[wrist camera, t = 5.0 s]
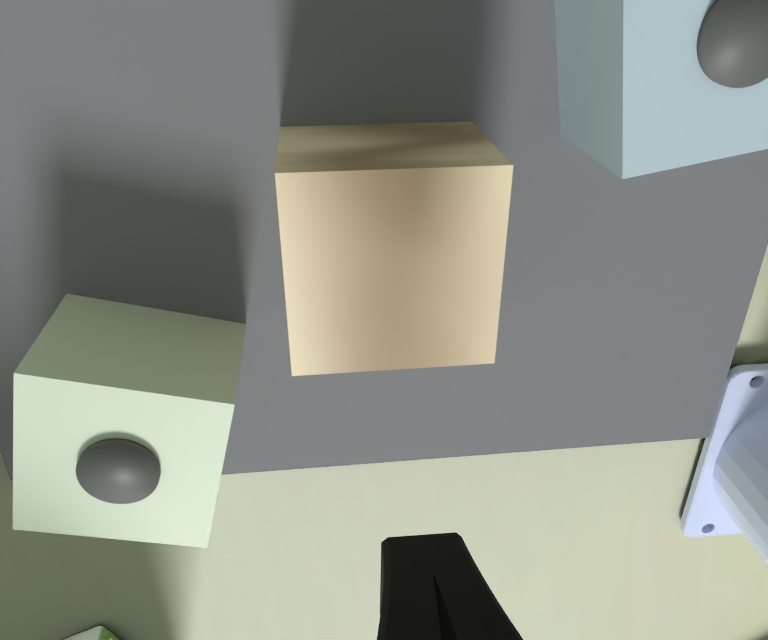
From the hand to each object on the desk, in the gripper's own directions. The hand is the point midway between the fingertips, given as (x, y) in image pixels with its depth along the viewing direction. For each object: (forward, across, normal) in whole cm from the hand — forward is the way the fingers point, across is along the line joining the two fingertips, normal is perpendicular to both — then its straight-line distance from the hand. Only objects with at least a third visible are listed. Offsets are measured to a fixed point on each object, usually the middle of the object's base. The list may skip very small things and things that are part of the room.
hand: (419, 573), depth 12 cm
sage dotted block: (+9, +7, +2) cm, 12 cm away
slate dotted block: (+10, -7, -8) cm, 15 cm away
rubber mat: (+10, 0, -3) cm, 10 cm away
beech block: (+9, 0, -3) cm, 10 cm away
